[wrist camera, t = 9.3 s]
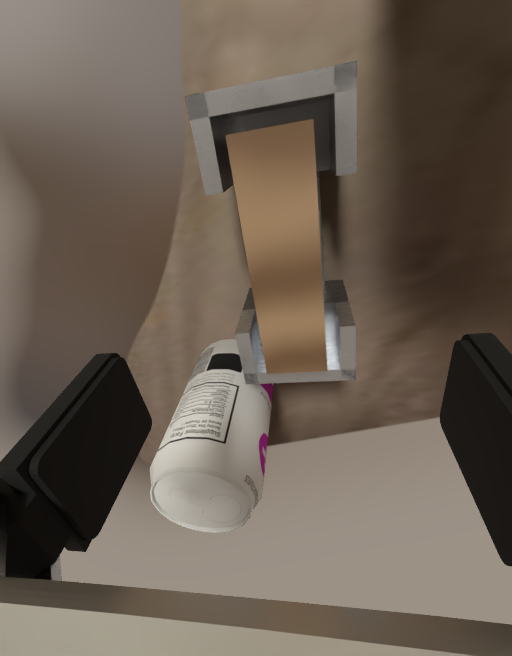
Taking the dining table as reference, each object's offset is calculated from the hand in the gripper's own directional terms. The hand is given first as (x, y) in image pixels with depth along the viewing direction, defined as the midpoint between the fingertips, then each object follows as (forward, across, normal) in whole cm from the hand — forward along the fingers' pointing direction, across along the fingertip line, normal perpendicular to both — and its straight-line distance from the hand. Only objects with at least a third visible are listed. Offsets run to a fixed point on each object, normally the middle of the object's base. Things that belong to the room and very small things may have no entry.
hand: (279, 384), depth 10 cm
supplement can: (+20, +8, +15) cm, 26 cm away
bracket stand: (+20, 0, +1) cm, 20 cm away
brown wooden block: (+15, 0, +1) cm, 15 cm away
